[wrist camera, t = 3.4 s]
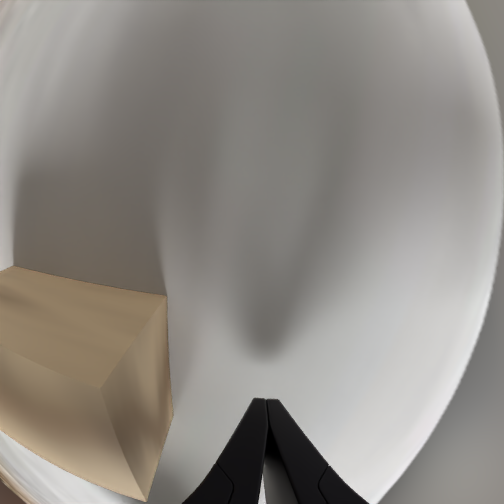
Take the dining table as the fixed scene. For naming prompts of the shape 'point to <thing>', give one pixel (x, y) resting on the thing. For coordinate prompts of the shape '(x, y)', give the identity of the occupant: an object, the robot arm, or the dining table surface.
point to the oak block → (85, 377)
